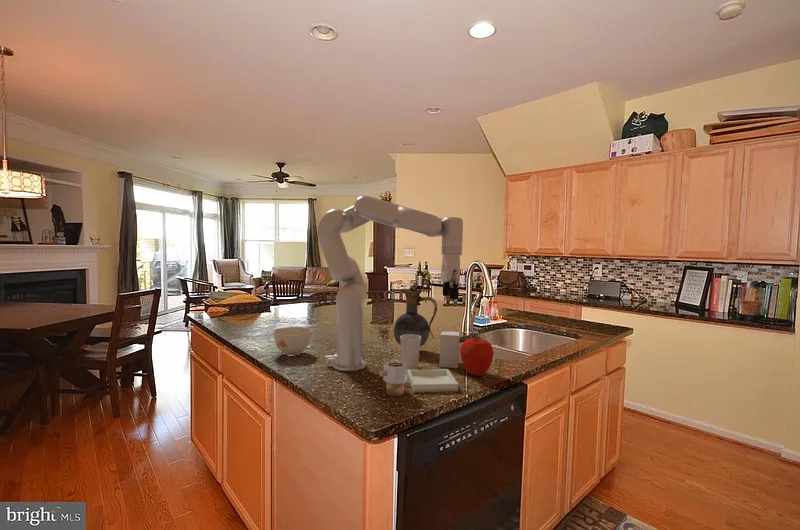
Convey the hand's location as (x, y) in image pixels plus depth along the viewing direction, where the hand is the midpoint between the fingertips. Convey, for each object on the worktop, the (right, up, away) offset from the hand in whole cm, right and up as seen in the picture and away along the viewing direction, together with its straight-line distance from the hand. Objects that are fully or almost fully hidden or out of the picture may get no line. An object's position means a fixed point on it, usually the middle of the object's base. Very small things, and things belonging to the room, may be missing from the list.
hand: (450, 297), depth 141 cm
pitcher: (-12, -26, +27) cm, 39 cm away
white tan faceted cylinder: (-20, -28, -20) cm, 40 cm away
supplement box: (+1, -28, +9) cm, 29 cm away
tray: (-8, -28, -12) cm, 32 cm away
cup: (-15, -28, +4) cm, 32 cm away
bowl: (-64, -26, +19) cm, 71 cm away
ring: (-20, -25, -21) cm, 38 cm away
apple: (+9, -28, -2) cm, 30 cm away
